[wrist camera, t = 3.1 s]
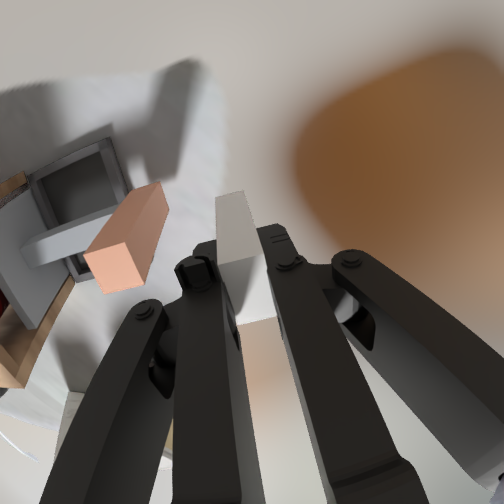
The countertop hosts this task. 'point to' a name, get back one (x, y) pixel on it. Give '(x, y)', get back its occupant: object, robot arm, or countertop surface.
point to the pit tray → (79, 192)
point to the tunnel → (15, 332)
